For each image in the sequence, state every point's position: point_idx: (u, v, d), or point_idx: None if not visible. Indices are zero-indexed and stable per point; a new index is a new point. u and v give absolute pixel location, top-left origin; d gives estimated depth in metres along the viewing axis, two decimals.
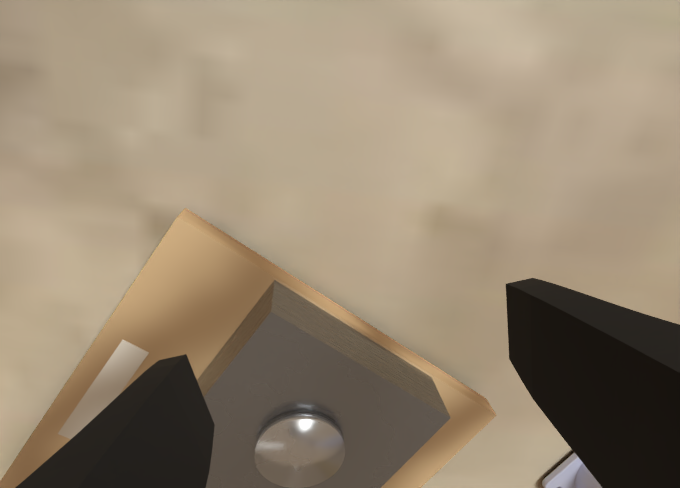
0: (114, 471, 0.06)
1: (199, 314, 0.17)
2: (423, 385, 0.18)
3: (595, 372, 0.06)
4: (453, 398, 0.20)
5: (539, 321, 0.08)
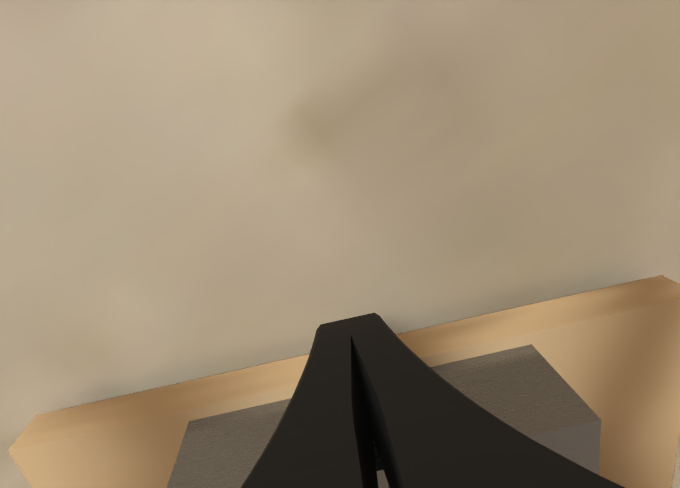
0: (356, 416, 0.06)
1: None
2: (517, 386, 0.09)
3: (379, 421, 0.06)
4: (599, 331, 0.11)
5: (358, 361, 0.08)
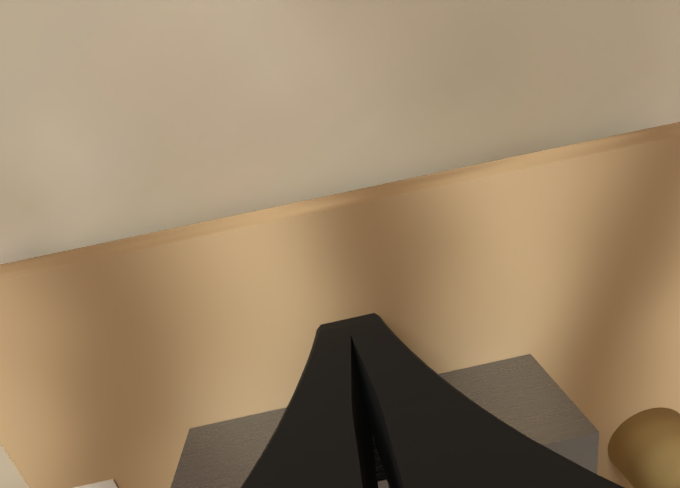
0: (355, 417, 0.06)
1: (100, 389, 0.10)
2: (516, 396, 0.09)
3: (378, 421, 0.06)
4: (607, 171, 0.09)
5: (358, 361, 0.08)
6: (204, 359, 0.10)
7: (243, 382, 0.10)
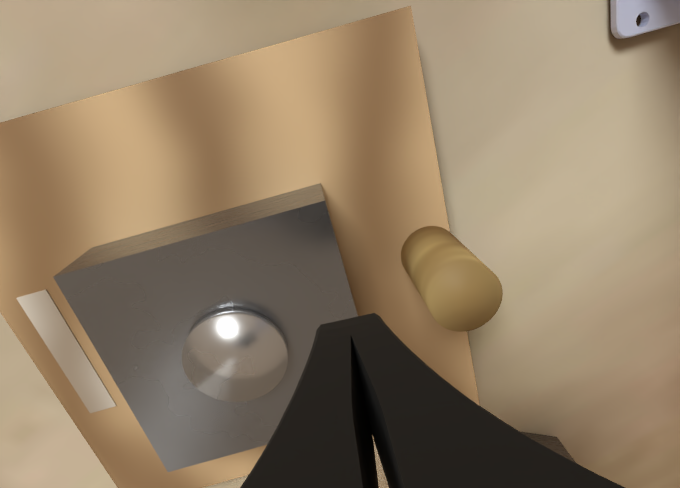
0: (355, 417, 0.06)
1: (27, 217, 0.15)
2: (293, 198, 0.14)
3: (378, 421, 0.06)
4: (337, 42, 0.14)
5: (358, 361, 0.08)
6: (92, 192, 0.15)
7: (122, 210, 0.15)
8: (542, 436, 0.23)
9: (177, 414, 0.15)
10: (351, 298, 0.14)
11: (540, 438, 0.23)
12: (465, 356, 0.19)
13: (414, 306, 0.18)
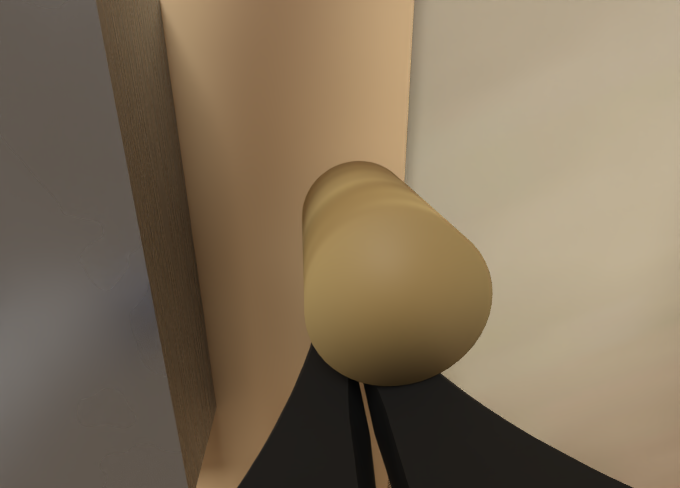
0: (352, 417, 0.06)
1: None
2: None
3: (381, 420, 0.06)
4: None
5: None
6: None
7: None
8: None
9: None
10: (139, 248, 0.06)
11: None
12: None
13: None
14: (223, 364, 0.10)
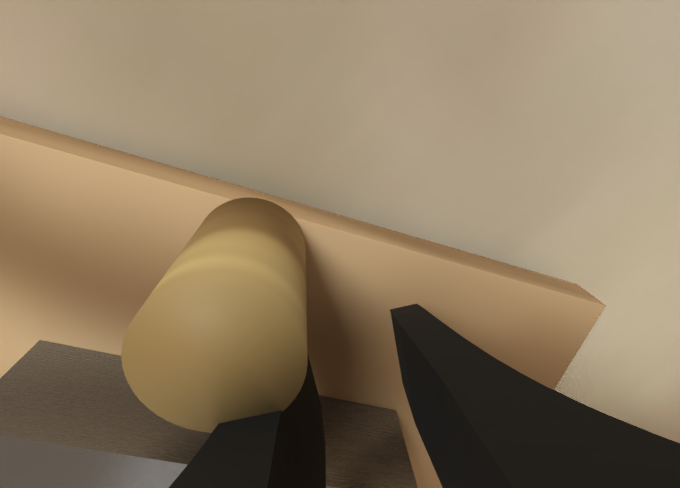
0: (286, 432, 0.06)
1: None
2: None
3: (437, 408, 0.06)
4: None
5: (406, 350, 0.08)
6: None
7: None
8: None
9: None
10: (166, 462, 0.08)
11: None
12: (485, 282, 0.10)
13: (333, 312, 0.10)
14: (358, 392, 0.11)
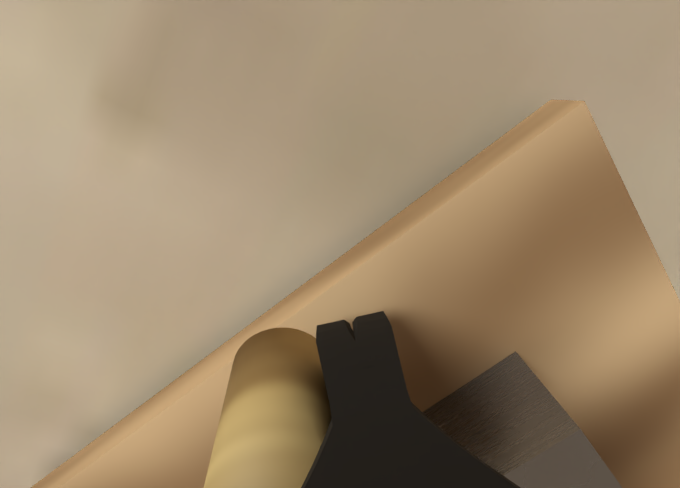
0: None
1: None
2: None
3: None
4: None
5: None
6: None
7: None
8: None
9: None
10: None
11: None
12: (454, 209, 0.09)
13: None
14: (470, 368, 0.11)
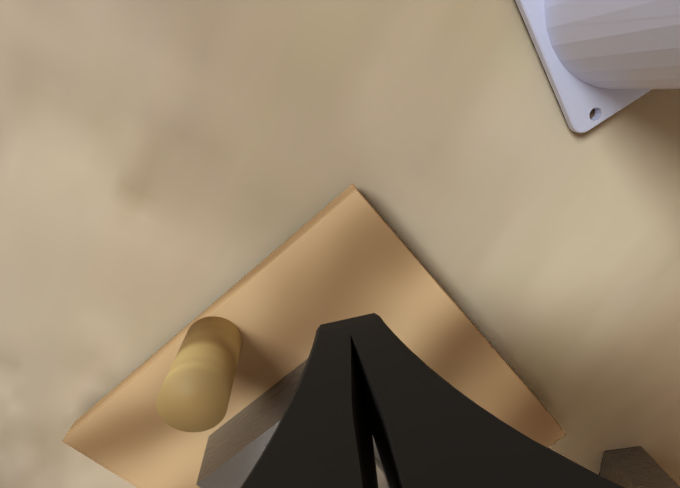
0: (355, 417, 0.06)
1: None
2: None
3: (378, 421, 0.06)
4: (115, 465, 0.20)
5: (357, 361, 0.08)
6: None
7: None
8: (626, 450, 0.25)
9: None
10: (259, 437, 0.17)
11: (624, 452, 0.25)
12: (297, 248, 0.17)
13: (269, 324, 0.18)
14: None
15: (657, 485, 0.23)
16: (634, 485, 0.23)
